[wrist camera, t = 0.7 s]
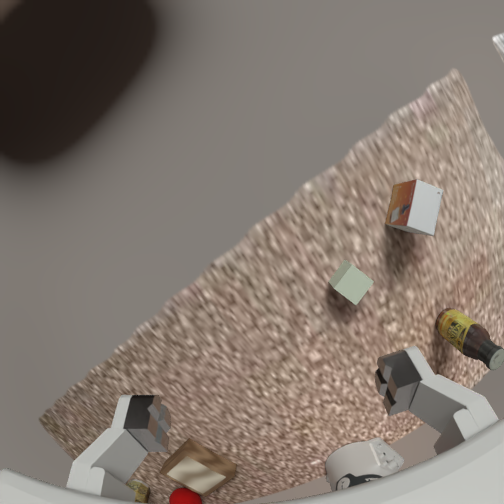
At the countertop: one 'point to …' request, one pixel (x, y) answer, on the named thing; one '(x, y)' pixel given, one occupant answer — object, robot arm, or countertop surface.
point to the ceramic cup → (139, 490)
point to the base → (198, 468)
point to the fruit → (184, 497)
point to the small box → (414, 207)
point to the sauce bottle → (469, 338)
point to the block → (350, 282)
